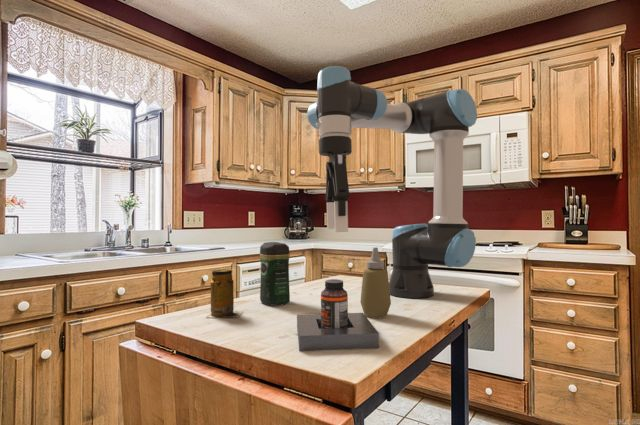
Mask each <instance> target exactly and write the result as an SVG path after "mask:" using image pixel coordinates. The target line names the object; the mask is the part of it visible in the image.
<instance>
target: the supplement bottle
mask: <svg viewBox="0 0 640 425" xmlns="http://www.w3.org/2000/svg"><path fill="white" fill-rule="evenodd" d="M348 295H349V294H348V291H347V290H345V289H344V280H342V279H335V278H334V279H332V278H331V279H326V280H325V282H324V289H323V290H322V291H321V293H320V314H321V329H328V328H348V313H349V312H348V311H349V307H348V306H349V304H348V303H349V302H348V300H349V298H348Z"/></svg>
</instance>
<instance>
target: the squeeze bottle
mask: <svg viewBox="0 0 640 425" xmlns="http://www.w3.org/2000/svg"><path fill="white" fill-rule="evenodd" d="M379 253H380V252H379V249H378V247H372V252H371V257H370V260H366V268H365V269H364V270H363V271H362V281H361V291H360V292H361V293H360V302H359V303H360V305H361V306H360V307H361V308H362V310H363V312H362V313H364V315H365V316H366V317H367V318H371V319H382V318H386V317H387V316H388V313H389V311H390V307H391V305H392V302H391V301H392V300H391V295H390V290H389V281H390V279H389V271H388V270H387V269H385V261H383V260H381V257H380V254H379Z"/></svg>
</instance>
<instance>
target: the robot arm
mask: <svg viewBox="0 0 640 425" xmlns="http://www.w3.org/2000/svg"><path fill="white" fill-rule="evenodd" d="M351 80H352V77H351V72H350V70H349V69H348V68H347V67H344V66H341V65H333V66H332V65H331V66H326V67H325V68H322V69H320V70H319V72H318V74H317V84H316V85H317V87H316V91H317V101H316V102H313V103H311V104H310V105H309V107H308V110H307V119H308V122H309V124H310V125H311V127H312V128H313V129H315V130H318V136H319V137H320V138H319V139H318V154H319V155H320V156H321V157H328V161H326V163H325V171H326V174H325V175H326V176H325V178H326V180H325V181H326V182H325V201H326V229H327V230H332V229H333V230H334V232H335V233H349V208H348V205H349V204H348V200H349V197H351V196H350V189H349V188H350V187H349V180H348V170H347V169H348V168H347V160H346V159H347V156H349V155H351V154H352V150H353V149H352V147H353V146H352V145H353V144H352V138H351V137H350V136H352V128H353V129H354V128H355V129H372V130H373V129H377V130H378V129H380V130H391V131H392V132H394V133H397V134H410V135H411V134H412V135H413V134H414V135H429V138H430V139H431V140H433V144H434V146H433V147H434V148H433V207H432V208H433V211H432V212H433V217H432V218H431V219H430V220H428V223H415V224H405V225H399V226H395V227H394V228H393V230H392V238H391V241H392V242H391V243H392V247H391V248H392V271H391V275H390V278H389V290H390V296H393V297H398V298H406V299H423V298H424V299H425V298H430V297H433V296H434V295H435V287H434V284H433V281H432V278H431V274H430V272H429V265H431V266H440V267H441V266H442V267H447V268H462V267H465V266H467V265H468V264H469V263H470V261H471V260H472V259H473V257H474V254H475V250H476V244H477V240H476V236H475V233H474V231H473V230H471V229H470V228H469V223H468V222H467V220H465V219H464V216H463V212H464V211H463V210H464V209H463V206H464V204H463V202H464V200H463V199H464V196H463V195H464V194H463V193H464V190H463V188H464V187H463V186H464V140H465V139H467V137H468V136H469V133H470V132H469V131H470V130H469V129H470V127H473V126H474V125H475V124H476V121H477V119H478V113H477V106H476V103H475V101H474V98H473V96H472V95H471V94H470V92H468V90H465V89H463V88H457V89H453V90H451V89H449V90H447V91H444V92H440V93H437V94H433V95H429V96H427V97H422V98H418V99H415V100H412V101H407V102H401V101H400V102H395V103H394V104H389V103H388V100H387V98H388V97H387V96H386V95H385V93H384V91H381V90H378V89H376V88H375V87H370V86H365V85H363V84H359V83H356V82H353V81H351Z"/></svg>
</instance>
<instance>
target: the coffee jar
mask: <svg viewBox="0 0 640 425" xmlns="http://www.w3.org/2000/svg"><path fill="white" fill-rule="evenodd" d="M259 258H260V285H259V286H260V291H259V300H260V302H261V303H262V304H265V305H267V306H279V307H280V306H284V305H285V304H289V303H290V301H291V297H290V296H291V295H290V271H289V270H290V269H289V268H290V267H289V263H290V262H289V261H290V247H289V245H288V244H286V243H284V242H283V243H282V242H279V241H270V242H269V241H267V242H264V243H263V244H261V245H260V248H259Z"/></svg>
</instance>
